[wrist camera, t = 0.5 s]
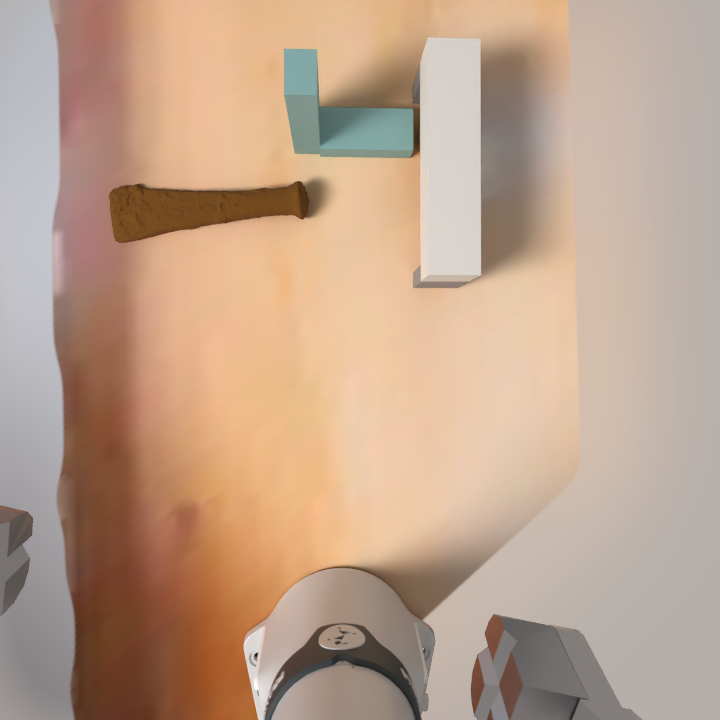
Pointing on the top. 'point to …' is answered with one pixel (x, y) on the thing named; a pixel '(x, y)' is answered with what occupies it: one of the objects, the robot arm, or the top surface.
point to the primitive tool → (196, 208)
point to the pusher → (339, 118)
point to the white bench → (449, 162)
